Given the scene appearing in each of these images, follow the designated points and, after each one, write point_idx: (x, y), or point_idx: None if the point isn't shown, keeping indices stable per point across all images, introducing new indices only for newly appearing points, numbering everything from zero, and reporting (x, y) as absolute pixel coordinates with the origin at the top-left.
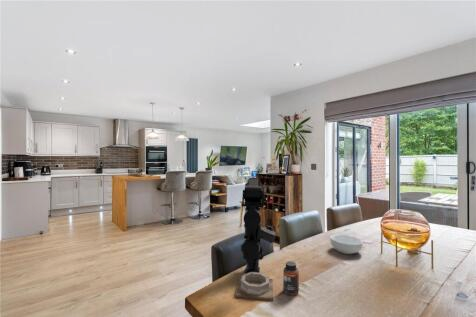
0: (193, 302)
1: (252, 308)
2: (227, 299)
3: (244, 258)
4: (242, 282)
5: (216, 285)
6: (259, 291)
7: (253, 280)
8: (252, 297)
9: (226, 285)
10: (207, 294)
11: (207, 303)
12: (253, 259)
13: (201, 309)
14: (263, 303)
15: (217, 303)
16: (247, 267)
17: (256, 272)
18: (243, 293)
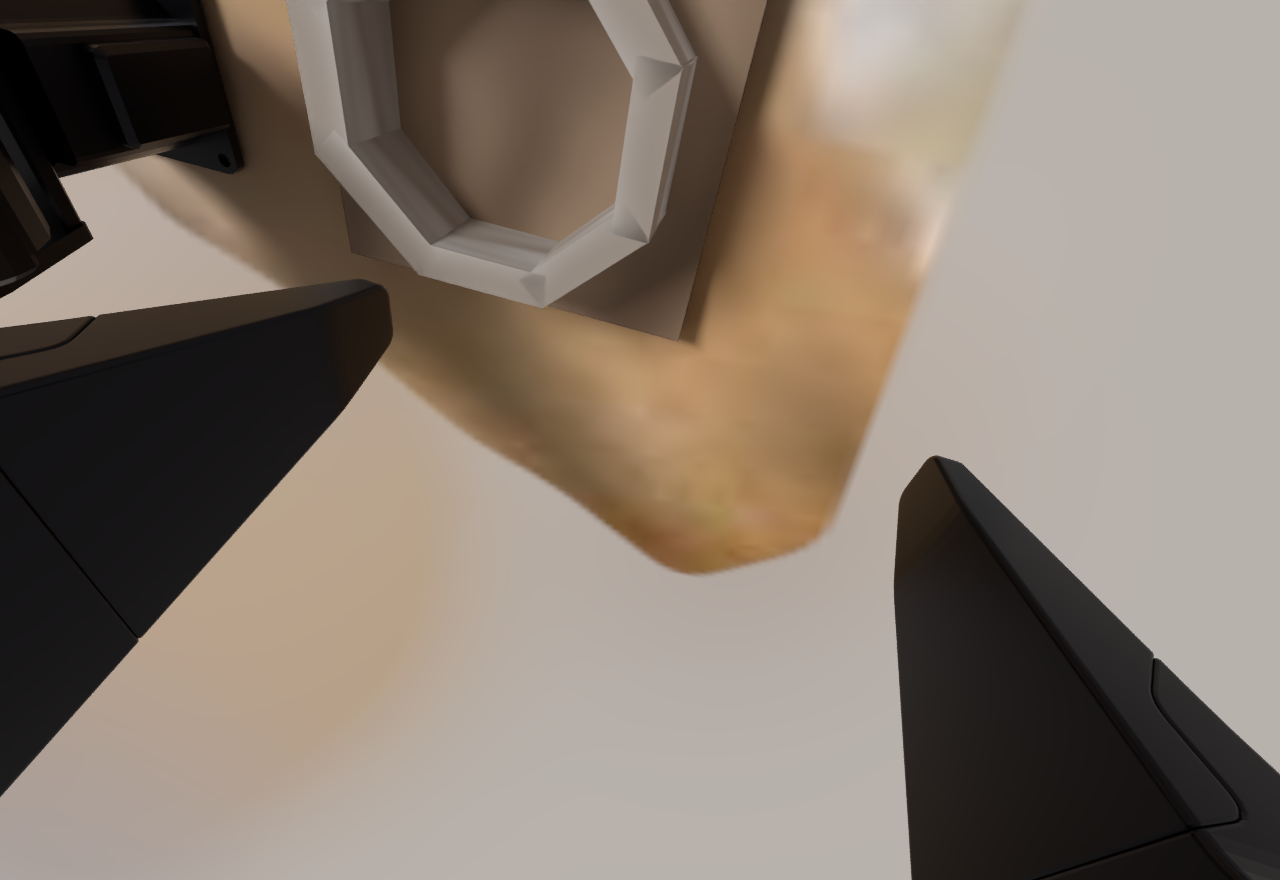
0: (711, 568)
1: (887, 194)
2: (702, 391)
3: (80, 228)
4: (565, 292)
5: (511, 438)
6: (688, 75)
7: (395, 100)
8: (722, 169)
9: (501, 372)
10: (629, 499)
11: (734, 510)
12: (1178, 706)
13: (792, 543)
14: (831, 32)
15: (744, 459)
16: (159, 148)
17: (297, 59)
18: (661, 264)
